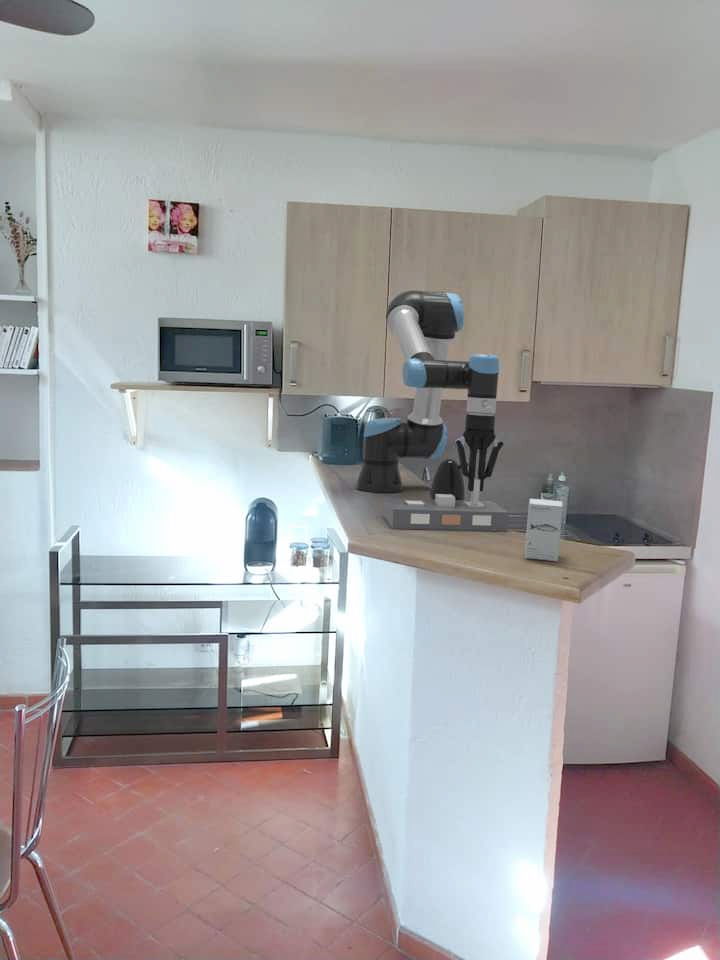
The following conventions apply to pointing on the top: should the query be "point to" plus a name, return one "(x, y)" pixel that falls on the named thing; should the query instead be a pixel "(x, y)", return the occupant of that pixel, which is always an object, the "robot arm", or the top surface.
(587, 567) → the top surface
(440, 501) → the button
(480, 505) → the button
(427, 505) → the console
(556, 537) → the supplement box
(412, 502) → the button
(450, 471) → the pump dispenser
